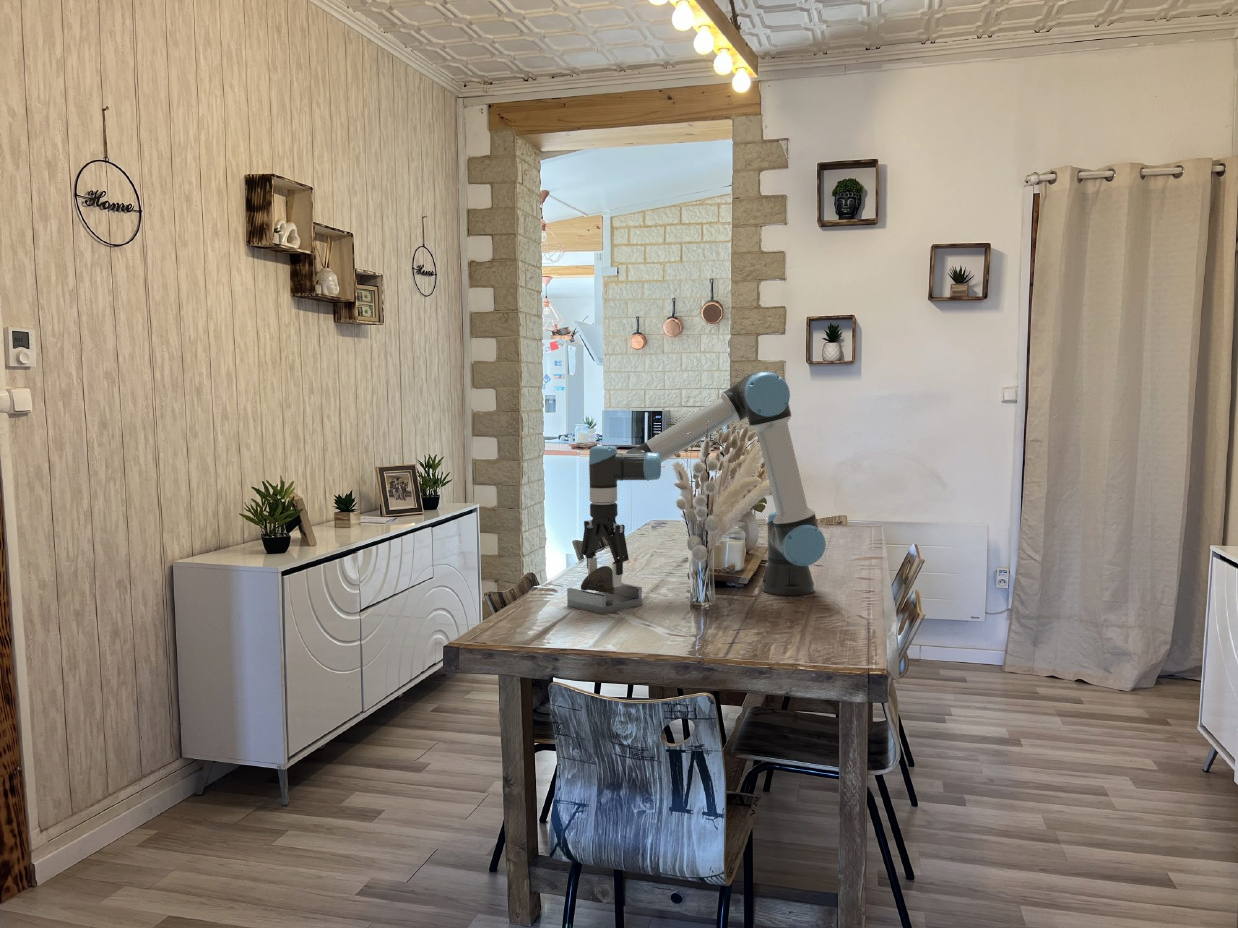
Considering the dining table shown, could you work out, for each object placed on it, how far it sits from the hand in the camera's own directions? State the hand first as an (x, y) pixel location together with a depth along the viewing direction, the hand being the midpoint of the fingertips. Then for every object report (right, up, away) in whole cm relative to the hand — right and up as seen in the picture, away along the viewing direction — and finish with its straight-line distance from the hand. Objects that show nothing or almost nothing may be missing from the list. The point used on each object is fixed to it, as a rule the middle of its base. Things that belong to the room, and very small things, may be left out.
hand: (604, 583), depth 248 cm
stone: (-2, -2, -1) cm, 3 cm away
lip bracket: (0, -6, 0) cm, 6 cm away
